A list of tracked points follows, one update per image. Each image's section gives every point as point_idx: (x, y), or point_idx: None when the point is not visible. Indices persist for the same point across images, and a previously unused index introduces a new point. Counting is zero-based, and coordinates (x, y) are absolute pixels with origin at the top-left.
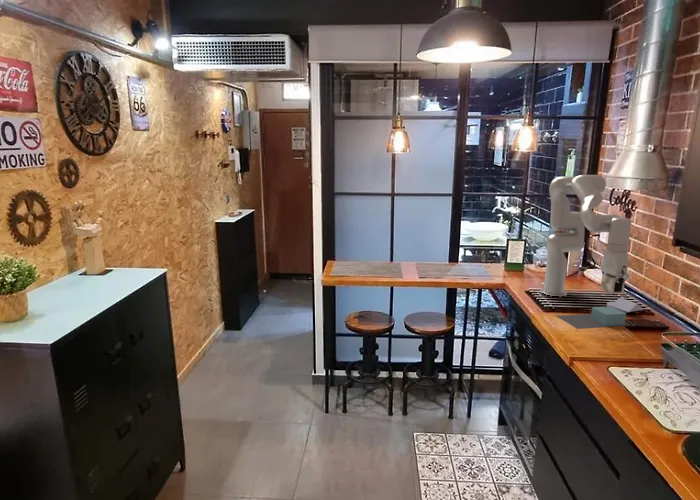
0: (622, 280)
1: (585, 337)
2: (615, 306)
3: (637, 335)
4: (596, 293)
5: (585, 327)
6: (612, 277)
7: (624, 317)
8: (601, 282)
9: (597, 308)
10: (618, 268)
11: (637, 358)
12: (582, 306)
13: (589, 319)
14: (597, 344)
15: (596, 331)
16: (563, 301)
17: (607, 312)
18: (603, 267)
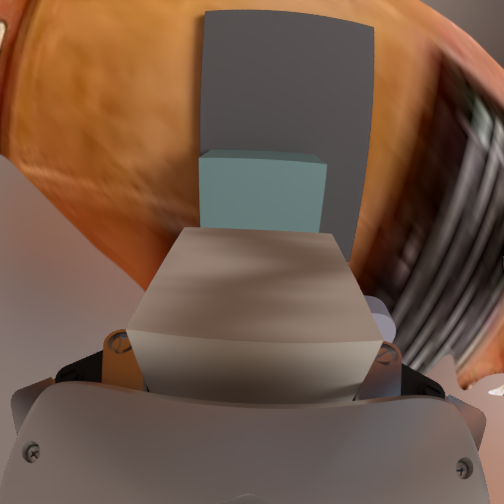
0: (70, 367)
1: (143, 17)
2: None
3: (134, 224)
4: (463, 352)
5: (211, 50)
6: (210, 381)
7: None
8: (345, 269)
9: (303, 181)
10: (2, 481)
11: (12, 109)
12: (439, 247)
13: (302, 136)
14: (87, 34)
15: (187, 88)
16: (489, 220)
17: (230, 187)
18: (423, 467)
